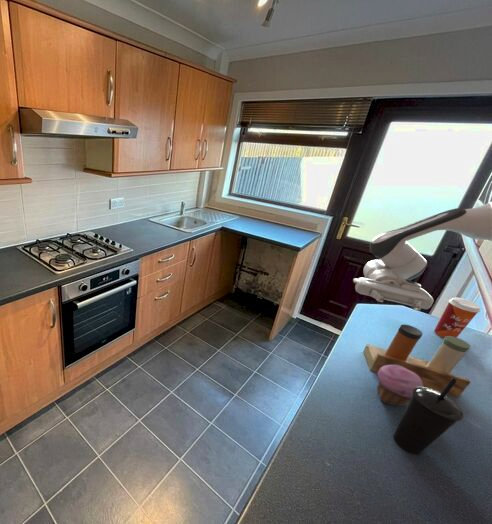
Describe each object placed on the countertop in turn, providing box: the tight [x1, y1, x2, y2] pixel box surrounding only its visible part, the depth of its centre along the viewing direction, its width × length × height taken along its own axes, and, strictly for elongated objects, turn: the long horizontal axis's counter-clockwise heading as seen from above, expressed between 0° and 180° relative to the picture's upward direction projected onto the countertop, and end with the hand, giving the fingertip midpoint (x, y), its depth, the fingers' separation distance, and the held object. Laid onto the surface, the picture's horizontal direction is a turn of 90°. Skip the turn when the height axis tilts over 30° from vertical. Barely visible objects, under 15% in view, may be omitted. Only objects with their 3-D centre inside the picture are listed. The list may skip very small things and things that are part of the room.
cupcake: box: [376, 365, 424, 407], centre depth 72 cm, size 9×9×10 cm
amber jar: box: [385, 324, 424, 361], centre depth 81 cm, size 5×5×11 cm
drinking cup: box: [392, 378, 465, 455], centre depth 59 cm, size 8×8×20 cm
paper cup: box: [433, 296, 481, 339], centre depth 98 cm, size 8×8×14 cm
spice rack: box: [362, 344, 471, 399], centre depth 82 cm, size 20×9×6 cm, turn 65°
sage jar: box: [426, 336, 471, 374], centre depth 78 cm, size 5×5×11 cm
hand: (398, 304), depth 88 cm, fingers open, 8 cm apart
